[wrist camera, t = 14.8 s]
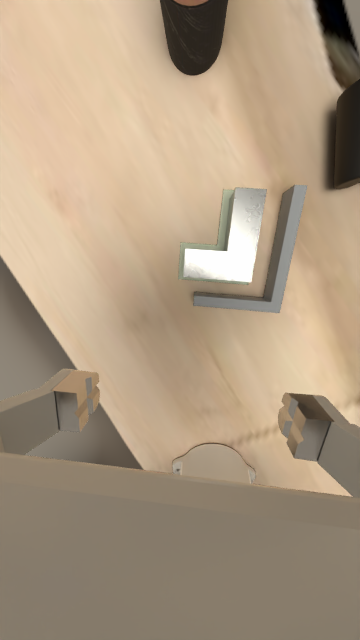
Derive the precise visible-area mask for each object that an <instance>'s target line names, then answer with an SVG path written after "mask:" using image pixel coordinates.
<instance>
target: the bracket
mask: <svg viewBox="0 0 360 640" xmlns="http://www.w3.org/2000/svg"><path fill="white" fill-rule="evenodd" d="M266 191H267V189H254V188H235V190H234V192H233V193H232V195H231V197H230V202H229V210H228V218H227V226H226V234H225V242H224V250H223V251H212V250H198V249H185V261H184V274H183V277H191V278H204V279H217V280H229V281H242V282H251V281H252V275H253V269H254V263H255V257H256V251H257V245H258V239H259V233H260V227H261V221H262V215H263V209H264V203H265V197H266Z"/></svg>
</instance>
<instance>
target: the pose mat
mask: <svg viewBox="0 0 360 640" xmlns="http://www.w3.org/2000/svg"><path fill="white" fill-rule="evenodd" d="M233 192H234V190H223V198H222V207H221V216H220V224H219V233H218V242H217V245H210V244H196V243H182V242H181V246H180V261H179V276H178V279H182V280H195V281H207V282H219V283H232V284H244V285H248V283H249V282H242V281H229V280H217V279H204V278H191V277H183V274H184V261H185V249H198V250H212V251H223V250H224V242H225V234H226V226H227V218H228V210H229V202H230V197H231V195H232V193H233Z"/></svg>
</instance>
